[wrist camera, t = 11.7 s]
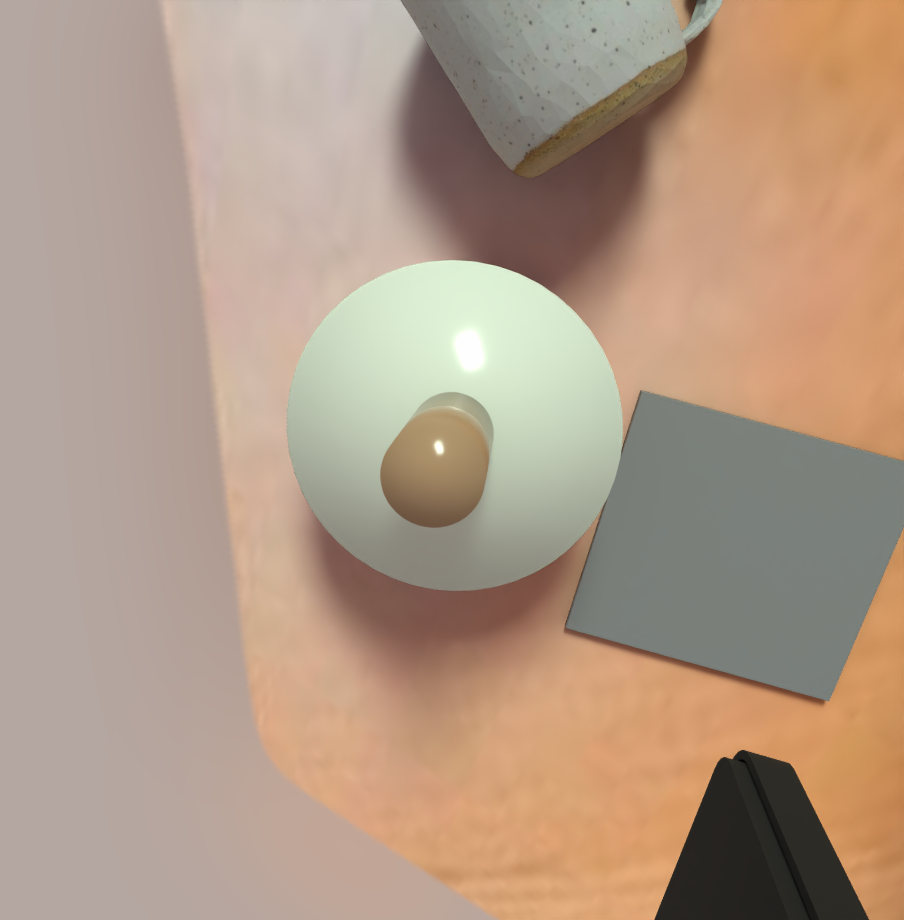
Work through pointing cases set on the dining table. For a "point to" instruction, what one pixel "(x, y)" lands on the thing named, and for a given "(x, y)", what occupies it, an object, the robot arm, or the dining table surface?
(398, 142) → the dining table surface
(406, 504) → the lid
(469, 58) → the ceramic mug
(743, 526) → the placemat
